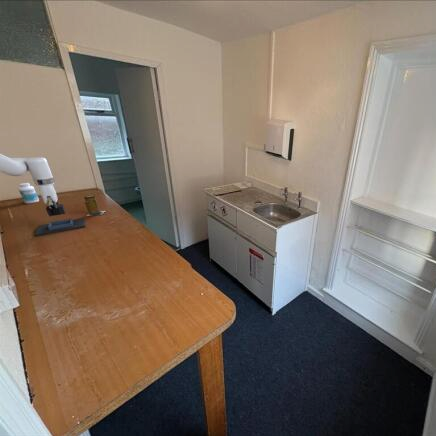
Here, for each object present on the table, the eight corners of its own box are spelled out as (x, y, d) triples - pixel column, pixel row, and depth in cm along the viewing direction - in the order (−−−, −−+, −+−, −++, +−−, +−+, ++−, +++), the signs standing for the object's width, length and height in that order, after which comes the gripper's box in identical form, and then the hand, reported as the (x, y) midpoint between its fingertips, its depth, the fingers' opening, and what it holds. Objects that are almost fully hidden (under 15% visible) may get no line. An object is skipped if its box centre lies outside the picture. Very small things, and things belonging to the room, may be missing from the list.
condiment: (90, 212, 154) (85, 194, 149) (106, 211, 156) (101, 194, 151) (86, 216, 147) (79, 198, 142) (102, 215, 150) (96, 197, 145)
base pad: (35, 236, 122) (33, 231, 120) (38, 227, 131) (36, 222, 130) (85, 227, 134) (83, 222, 132) (84, 219, 143) (83, 214, 142)
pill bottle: (25, 201, 165) (16, 183, 160) (39, 199, 170) (32, 181, 165) (24, 204, 160) (15, 185, 155) (39, 202, 165) (31, 184, 160)
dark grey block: (49, 216, 126) (45, 208, 124) (49, 213, 129) (46, 206, 127) (65, 213, 129) (62, 206, 128) (65, 211, 133) (62, 203, 131)
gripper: (36, 179, 126) (49, 210, 133) (32, 186, 114) (46, 220, 121) (55, 177, 130) (66, 207, 137) (53, 184, 118) (65, 216, 125)
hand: (57, 213), depth 129 cm, fingers closed on dark grey block, 5 cm apart
